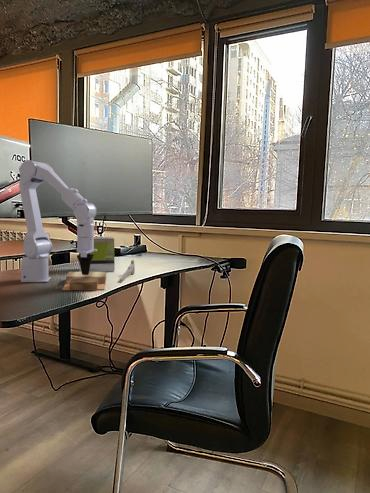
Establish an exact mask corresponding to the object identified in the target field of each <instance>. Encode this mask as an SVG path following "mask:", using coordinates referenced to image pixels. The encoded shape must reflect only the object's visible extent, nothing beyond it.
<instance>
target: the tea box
mask: <svg viewBox="0 0 370 493" xmlns="http://www.w3.org/2000/svg"><path fill="white" fill-rule="evenodd" d="M94 249H97V251H96V252H91V253H89V254H94V256H93V258H92V261H91V264H90V270H89V272H115V238H114V236H94ZM78 255H81V253H79V252H78ZM78 265H79V266H78V267H79V271H78V272H82V271H81V266H80V263H79V262H78Z"/></svg>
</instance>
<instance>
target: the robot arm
mask: <svg viewBox="0 0 370 493" xmlns="http://www.w3.org/2000/svg"><path fill="white" fill-rule="evenodd" d="M18 171H19V182H18V188H19V193H20V199H21V204H22V210H23V213H24V218H25V224H26V225H25V226H26V230H27V232H26V233H25V235H24V237H23V246H22V250H23V253H24V255H25V256H23V257H22V258H21V261H20V283H47V282H49V281H50V280H51V278H52V276H49V274H50V273H49V257H50V254H51V253H52V251H53V243H52V242H51V241H52V240H50V236H49V234H48V233H47V232H46V231H45V230H44V227H43V222H42V217H41V210H40V205H39V199H38V195H37V188H38V186H40V185H41V184H42V183H43V182H45V181H46V182H47V183H48V184H49V185H50V186H52V187H53V188H54V189H55V190H56V191H57V192H58V193H60V195H61V200H62V201H63V202H64V203H65V204H66V205H67V207H69V208H70V209H71V210H72V211H73V215H74V217H75V218H76V224H77V225H76V226H77V227H76V240H77V241H76V243H77V245H76V252H77V253H78V254H77V255H76V258H77V260H78V264H79V263H80V266H81V271H82V275H88V274H89V270H90V264H91V261H92V258H93V256H94V254H89V253H91V252H96V251H97V249H94V237H95V217H96V216H97V214H98V212H97V210H98V209H97V206H96V205H95V204H94V203H92V202H88V199H87V198H84V197H83V196H82V195H81V194H80V193H79V192H80V191H79V190H78V189H77V188H74V187H70V188H69V187H68V185H67V184H66V183H65V182H64V181H63V180H62V179H61V177H60V176H59V175H58V174H57V173H56V172H55V171H54V168H53V167H51V166H50V164H48V163H47V162H39V161H33V160H30V159H25V160H24V161H23V162H22V163H21V164H20V166H19V167H18ZM79 253H81V255H79Z"/></svg>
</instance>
